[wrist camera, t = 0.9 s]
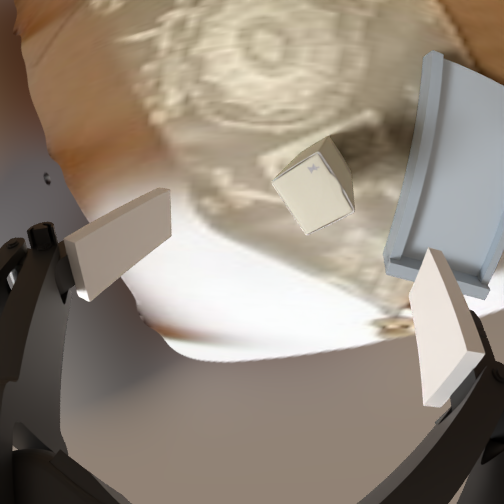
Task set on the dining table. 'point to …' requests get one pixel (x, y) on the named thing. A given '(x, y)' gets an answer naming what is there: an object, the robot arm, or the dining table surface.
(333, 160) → the box
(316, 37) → the dining table surface
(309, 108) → the dining table surface
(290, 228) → the dining table surface
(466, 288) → the blue-grey tray
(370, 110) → the dining table surface
